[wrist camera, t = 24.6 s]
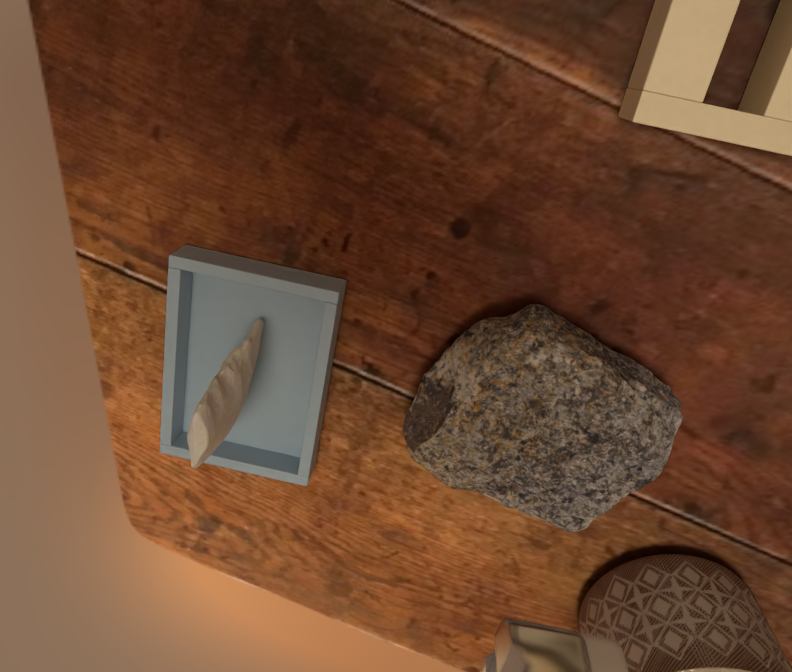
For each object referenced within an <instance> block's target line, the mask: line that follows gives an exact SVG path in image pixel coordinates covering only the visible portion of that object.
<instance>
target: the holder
mask: <svg viewBox="0 0 792 672" xmlns="http://www.w3.org/2000/svg"><path fill="white" fill-rule="evenodd" d="M739 3H740V0H655V2H654V5H653V8H652V12H651V15H650V18H649V21H648V24H647V27H646V30H645V33H644V37H643V40H642V43H641V46H640V49H639V52H638V55H637V58H636V62H635V65H634V68H633V71H632V74H631V77H630V80H629V83H628V88H627V89H626V92H625V95H624V98H623V102H622V105H621V108H620V111H619V114H618V117H620V118H623V119H626V120H628V121H631V122H635V123H639V124H644V125H649V126H653V127H658V128H663V129H667V130H672V131H677V132H682V133H686V134H691V135H696V136H700V137H705V138H710V139H714V140H719V141H724V142H728V143H733V144H738V145H743V146H747V147H752V148H757V149H761V150H766V151H771V152H775V153H780V154H785V155H789V156H792V0H780V3H779V5H778V8H777V10H776V13H775V15H774V18H773V20H772V23H771V25H770V28H769V31H768V33H767V36H766V38H765V41H764V43H763V46H762V48H761V51H760V53H759V56H758V59H757V61H756V64H755V66H754V69H753V71H752V74H751V76H750V79H749V81H748V84H747V87H746V89H745V92H744V94H743V97H742V99H741V102H740V104H739V107H738V110H732V109H728V108H723V107H718V106H714V105H709V104H704V103H702V102H703V100H704V97H705V95H706V92H707V89H708V87H709V84H710V81H711V78H712V76H713V73H714V70H715V68H716V65H717V62H718V59H719V57H720V54H721V51H722V49H723V46H724V43H725V41H726V38H727V35H728V32H729V30H730V27H731V24H732V22H733V19H734V16H735V13H736V11H737V8H738V5H739Z"/></svg>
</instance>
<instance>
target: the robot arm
mask: <svg viewBox="0 0 792 672" xmlns="http://www.w3.org/2000/svg"><path fill="white" fill-rule="evenodd" d="M495 648H496V652H495V653H493V654H491V655H489V656H487V657H486V658H485V661H484V664H483V667H482V669H481V672H629V671H628V667H627V663H626V660H625V656H624V653H623V649H622V647H621V646H620V644H619V643H618V642H617V640H612V639H607V638H602V637H598V636H593V635H588V634H583V633H577V632H575V631H571V630H566V629H561V628H556V627H551V626H546V625H541V624H536V623H531V622H526V621H521V620H516V619H511V618H506V617H505V618H504V619H503V620H502V621H501V622H500V624H499V627H498V629H497V631H496V634H495Z"/></svg>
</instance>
